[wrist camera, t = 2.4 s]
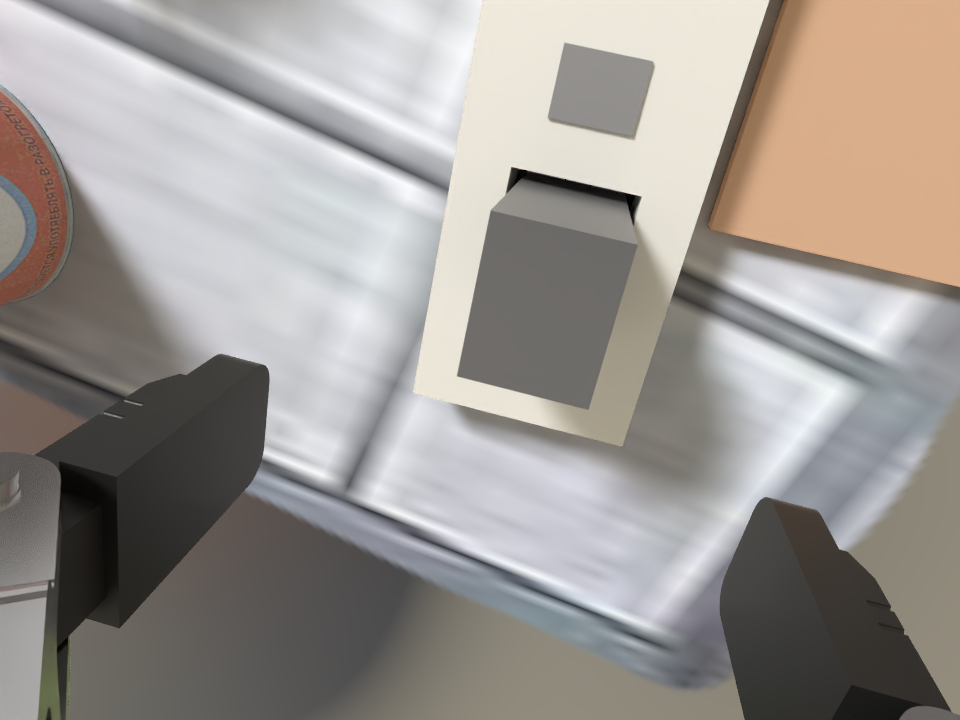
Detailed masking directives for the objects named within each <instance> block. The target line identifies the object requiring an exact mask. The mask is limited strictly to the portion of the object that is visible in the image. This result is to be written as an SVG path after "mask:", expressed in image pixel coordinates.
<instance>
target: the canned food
mask: <svg viewBox="0 0 960 720" xmlns="http://www.w3.org/2000/svg"><path fill="white" fill-rule="evenodd" d="M72 236H73V206H72V199H71V194H70V189H69V185H68V182H67V178H66V175H65V172H64V170H63V167H62V164H61V162H60V160H59V157H58V155H57V153H56V151H55V149H54V147H53V146H52V144H51V142H50V140H49V138H48V137H47V135H46V134H45V132H44V131H43V129H42V128H41V126H40V125H39V124H38V122H37V121H36V120H35V118H34V117H33V116H32V115H31V113H30V112H29V111H28V110H27V109H26V108H25V106H24V105H23V104H21V103H20V102H19V101H18V100H17V99H16V98H15V97H14V96H13V95H12V94H11V93H10V92H9V91H7V90H6V89H5V88H4V87H2V86H1V85H0V306H1V305H4V304H7V303H14V302H17V301H21V300H24V299H27V298H29V297H32V296H34V295H36V294H37V293H39V292H41V291H42V290H43V289H45V288H46V287H47V286H48V285H49V284H50V283H51V282H52V281H53V280H54V279H55V278H56V277H57V275H58V274H59V273H60V271H61V269H62V267H63V266H64V264H65V261H66V259H67V257H68V254H69V250H70V247H71V242H72Z"/></svg>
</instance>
